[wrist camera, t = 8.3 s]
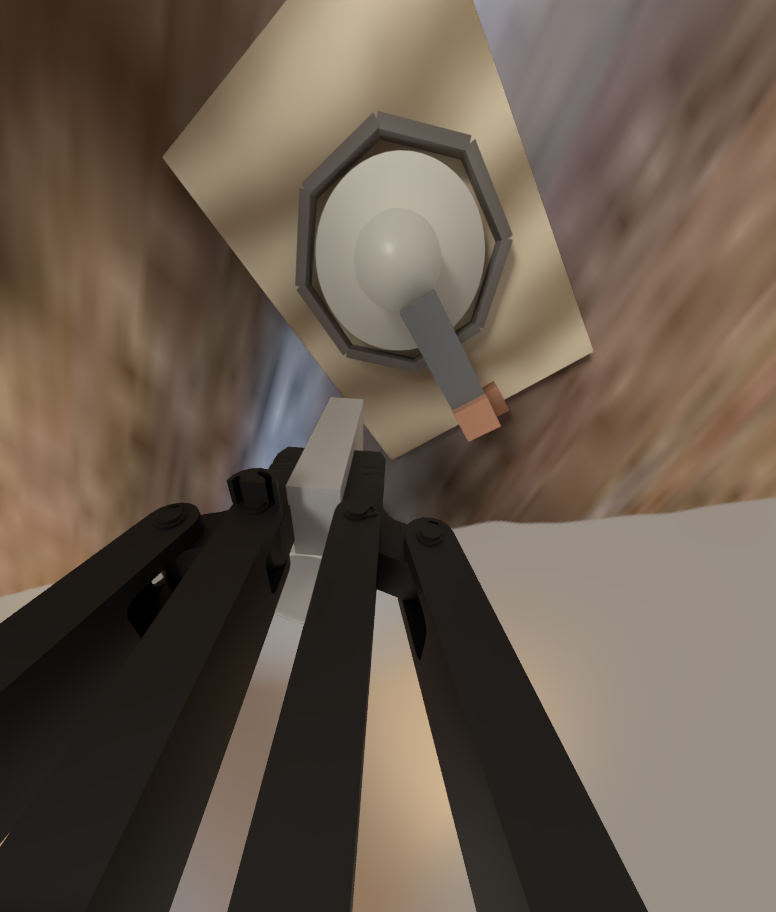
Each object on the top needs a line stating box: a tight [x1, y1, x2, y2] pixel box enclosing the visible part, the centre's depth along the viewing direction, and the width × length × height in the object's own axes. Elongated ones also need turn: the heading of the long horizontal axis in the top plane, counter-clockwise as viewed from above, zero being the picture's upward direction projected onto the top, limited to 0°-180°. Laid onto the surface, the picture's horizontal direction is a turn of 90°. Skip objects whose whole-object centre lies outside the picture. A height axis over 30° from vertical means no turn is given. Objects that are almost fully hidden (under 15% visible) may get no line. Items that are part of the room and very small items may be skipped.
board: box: [162, 0, 593, 460], centre depth 20 cm, size 24×17×3 cm
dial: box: [315, 150, 501, 442], centre depth 18 cm, size 15×10×7 cm, turn 32°
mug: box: [275, 544, 322, 624], centre depth 27 cm, size 12×8×10 cm
